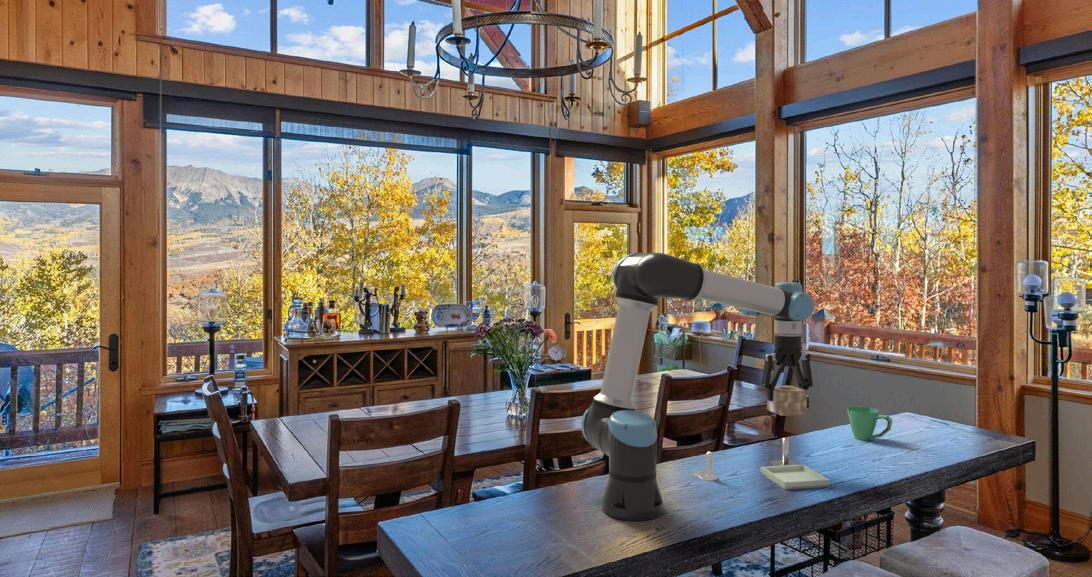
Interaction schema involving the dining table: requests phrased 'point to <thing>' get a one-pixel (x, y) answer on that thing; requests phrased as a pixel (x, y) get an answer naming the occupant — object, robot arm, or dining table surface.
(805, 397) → the bored block
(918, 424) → the dining table surface
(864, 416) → the mug
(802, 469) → the tray
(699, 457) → the dining table surface
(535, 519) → the dining table surface
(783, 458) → the gauge post
